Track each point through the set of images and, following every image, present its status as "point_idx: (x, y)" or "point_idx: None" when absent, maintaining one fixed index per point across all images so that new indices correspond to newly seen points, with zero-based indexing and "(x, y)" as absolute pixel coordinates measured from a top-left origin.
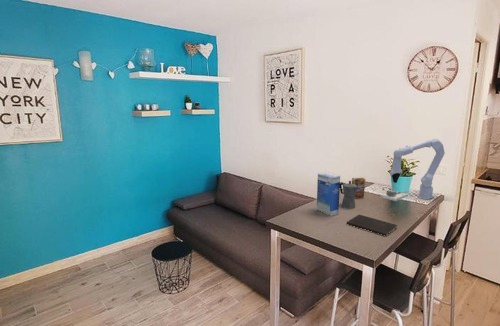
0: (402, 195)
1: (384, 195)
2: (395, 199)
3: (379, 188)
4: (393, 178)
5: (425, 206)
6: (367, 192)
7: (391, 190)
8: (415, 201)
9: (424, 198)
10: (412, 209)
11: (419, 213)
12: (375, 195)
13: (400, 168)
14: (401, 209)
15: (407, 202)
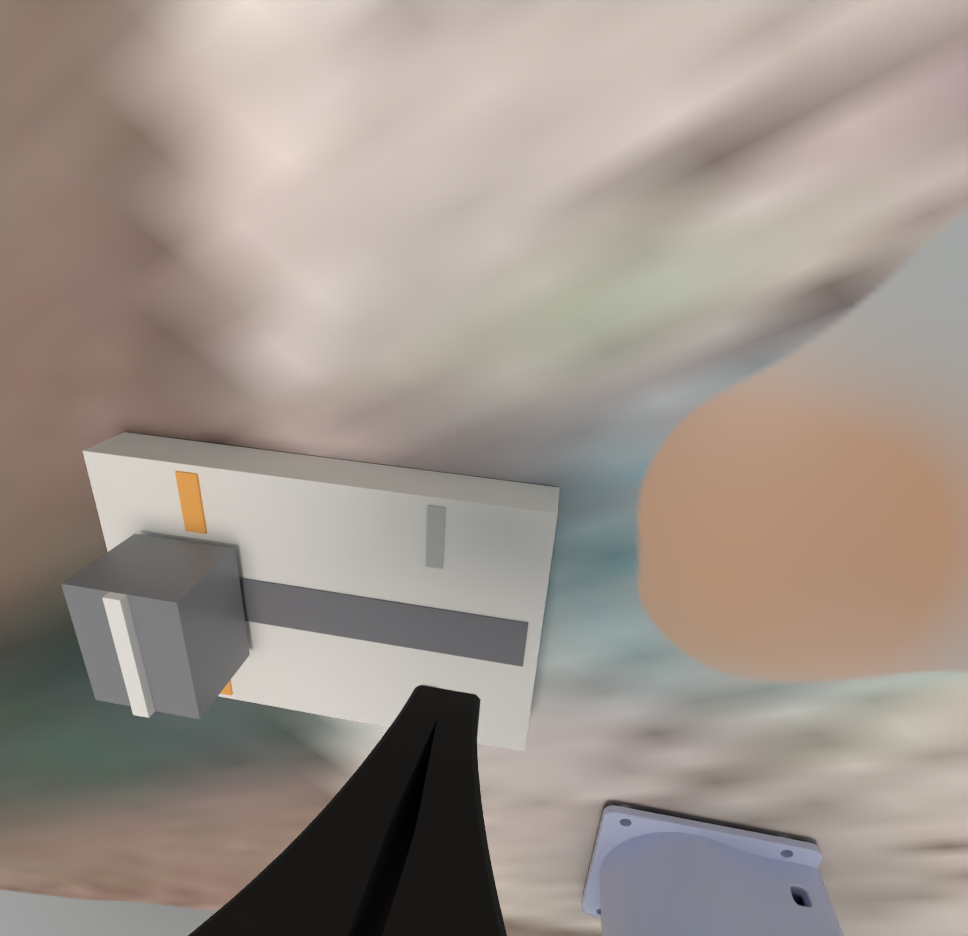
0: (375, 711)
1: (100, 506)
2: None
3: (743, 12)
4: (348, 827)
5: None
6: (110, 9)
7: (175, 636)
8: None
9: (588, 886)
10: (110, 829)
11: (81, 878)
12: (112, 294)
13: None
14: (4, 761)
15: (269, 759)
